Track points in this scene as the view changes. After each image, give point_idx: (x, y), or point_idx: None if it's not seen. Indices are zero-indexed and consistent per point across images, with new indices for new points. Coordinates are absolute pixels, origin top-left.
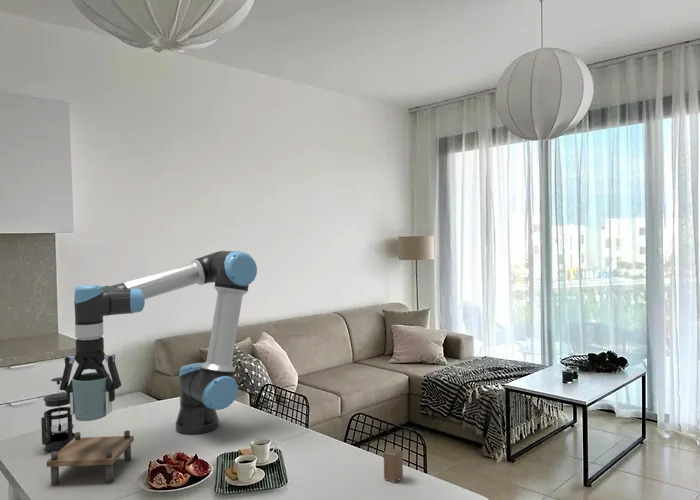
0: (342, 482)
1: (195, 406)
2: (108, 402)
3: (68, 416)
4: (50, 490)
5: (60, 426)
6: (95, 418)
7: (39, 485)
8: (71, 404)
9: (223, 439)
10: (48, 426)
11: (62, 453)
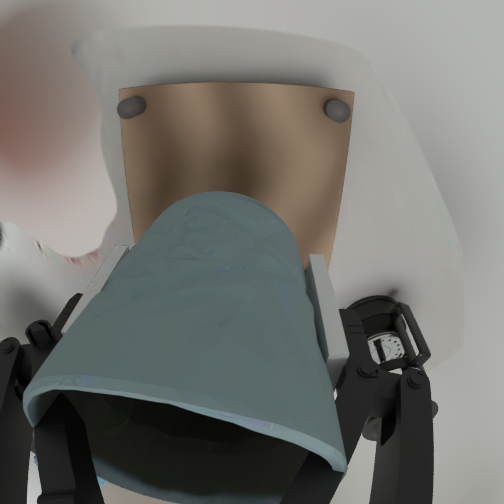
0: None
1: None
2: (91, 284)
3: None
4: (314, 60)
5: (380, 356)
6: (168, 207)
7: (358, 99)
8: (326, 292)
9: (33, 304)
10: (407, 343)
11: (324, 158)
